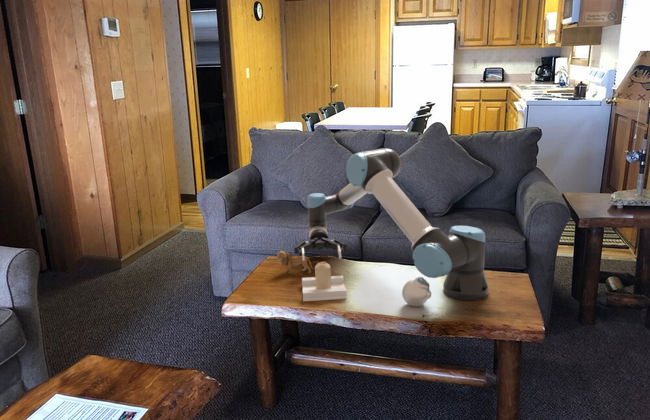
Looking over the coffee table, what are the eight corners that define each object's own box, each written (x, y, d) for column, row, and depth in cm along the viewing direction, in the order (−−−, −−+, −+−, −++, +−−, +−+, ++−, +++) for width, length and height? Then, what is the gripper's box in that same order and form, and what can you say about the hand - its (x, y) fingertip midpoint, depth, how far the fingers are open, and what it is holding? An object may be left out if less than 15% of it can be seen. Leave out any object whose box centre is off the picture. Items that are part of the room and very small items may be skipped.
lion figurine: (277, 275, 207) (276, 253, 205) (278, 270, 212) (276, 249, 210) (315, 273, 208) (314, 251, 205) (315, 268, 213) (314, 246, 210)
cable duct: (343, 282, 198) (342, 275, 197) (346, 298, 185) (346, 290, 184) (302, 285, 197) (302, 277, 196) (303, 301, 184) (302, 293, 184)
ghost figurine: (423, 314, 172) (423, 285, 169) (397, 306, 177) (397, 279, 175) (435, 303, 179) (436, 275, 176) (410, 296, 184) (410, 269, 182)
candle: (329, 292, 188) (328, 266, 185) (314, 291, 189) (313, 265, 186) (332, 286, 193) (331, 260, 190) (317, 285, 194) (316, 259, 191)
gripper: (349, 244, 220) (355, 263, 200) (288, 248, 219) (288, 267, 198) (349, 226, 218) (355, 244, 197) (287, 230, 217) (287, 248, 196)
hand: (321, 255), depth 198 cm, fingers open, 13 cm apart
